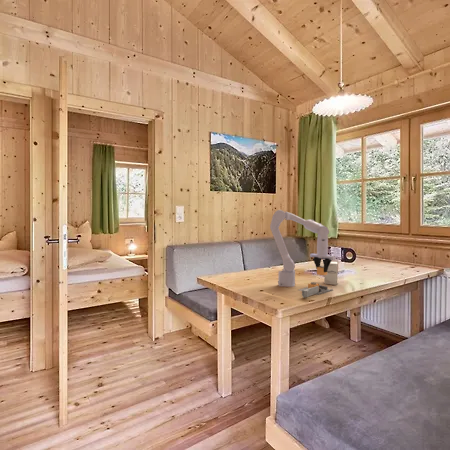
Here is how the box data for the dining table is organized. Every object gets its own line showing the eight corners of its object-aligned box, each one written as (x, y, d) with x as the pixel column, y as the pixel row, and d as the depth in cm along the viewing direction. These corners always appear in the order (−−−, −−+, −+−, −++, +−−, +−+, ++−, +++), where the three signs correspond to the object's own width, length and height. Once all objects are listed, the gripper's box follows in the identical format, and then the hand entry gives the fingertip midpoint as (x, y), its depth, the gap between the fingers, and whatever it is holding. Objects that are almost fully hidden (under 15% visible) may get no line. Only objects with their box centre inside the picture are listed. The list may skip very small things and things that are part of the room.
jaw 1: (314, 292, 162) (314, 284, 161) (307, 291, 165) (308, 282, 164) (318, 291, 164) (319, 282, 164) (312, 290, 167) (312, 281, 167)
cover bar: (307, 298, 151) (307, 291, 150) (301, 297, 153) (302, 290, 153) (321, 293, 159) (322, 287, 158) (316, 292, 161) (316, 285, 161)
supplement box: (323, 284, 184) (324, 262, 183) (324, 281, 191) (325, 260, 190) (337, 285, 181) (337, 263, 180) (337, 282, 188) (337, 261, 187)
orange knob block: (323, 275, 172) (323, 267, 172) (316, 274, 175) (317, 266, 175) (327, 274, 175) (327, 266, 175) (320, 273, 178) (321, 265, 178)
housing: (318, 296, 158) (318, 292, 158) (297, 291, 168) (297, 287, 168) (333, 291, 167) (333, 287, 167) (312, 287, 177) (312, 283, 177)
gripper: (338, 247, 171) (337, 272, 172) (315, 245, 182) (314, 268, 183) (331, 248, 167) (330, 274, 167) (308, 246, 178) (307, 270, 179)
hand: (321, 271), depth 175 cm, fingers closed on orange knob block, 4 cm apart
